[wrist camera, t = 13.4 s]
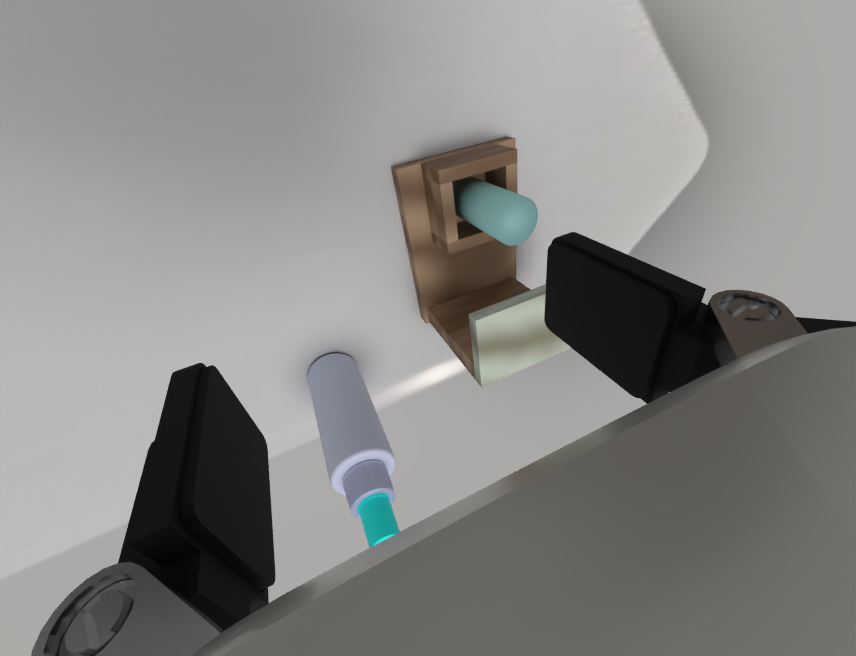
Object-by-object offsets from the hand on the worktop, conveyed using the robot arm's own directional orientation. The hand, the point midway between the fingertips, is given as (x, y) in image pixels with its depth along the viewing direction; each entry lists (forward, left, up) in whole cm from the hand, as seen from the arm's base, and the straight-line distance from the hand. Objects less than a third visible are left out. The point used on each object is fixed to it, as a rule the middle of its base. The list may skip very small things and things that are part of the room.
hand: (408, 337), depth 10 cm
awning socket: (+11, +15, -28) cm, 34 cm away
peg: (+6, +15, -27) cm, 31 cm away
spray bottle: (+23, -4, -28) cm, 37 cm away
